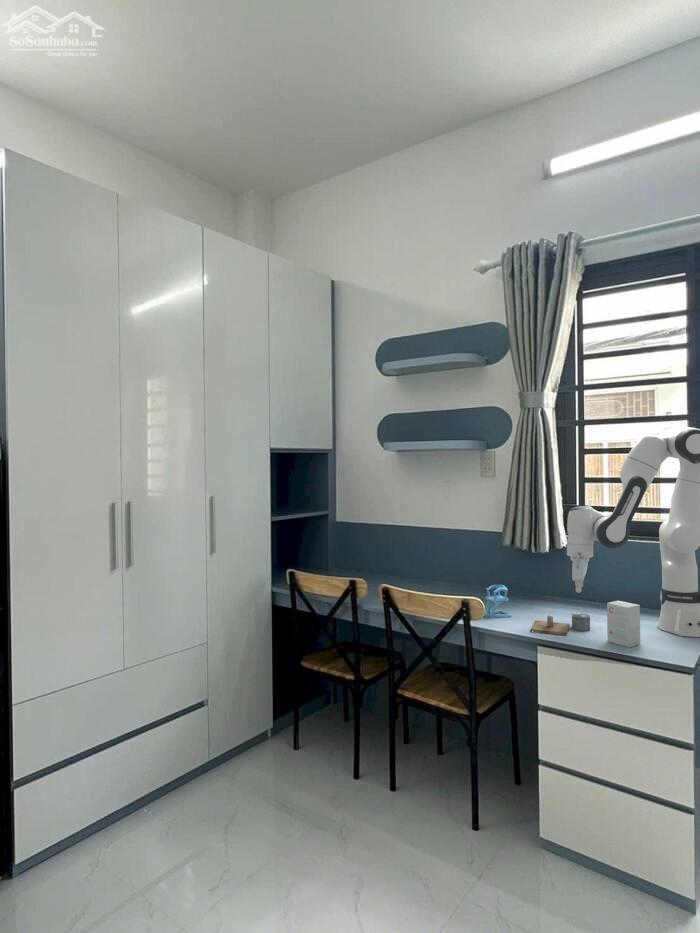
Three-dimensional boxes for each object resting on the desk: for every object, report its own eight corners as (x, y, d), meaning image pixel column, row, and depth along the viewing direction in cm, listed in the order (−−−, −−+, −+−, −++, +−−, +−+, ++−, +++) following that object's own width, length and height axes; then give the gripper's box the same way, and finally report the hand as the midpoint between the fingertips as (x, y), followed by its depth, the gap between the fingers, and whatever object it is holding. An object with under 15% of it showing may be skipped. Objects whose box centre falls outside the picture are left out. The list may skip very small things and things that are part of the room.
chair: (482, 614, 233) (482, 584, 233) (501, 612, 235) (500, 582, 235) (493, 619, 225) (492, 588, 225) (512, 617, 228) (511, 586, 228)
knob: (590, 627, 213) (590, 612, 213) (589, 631, 208) (589, 616, 208) (572, 625, 216) (572, 610, 216) (571, 629, 210) (571, 614, 210)
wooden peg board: (569, 626, 214) (569, 614, 214) (566, 635, 203) (566, 622, 203) (535, 622, 219) (535, 610, 219) (530, 631, 209) (530, 619, 209)
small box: (640, 644, 193) (640, 604, 193) (629, 647, 190) (629, 607, 190) (618, 638, 200) (618, 599, 200) (606, 641, 197) (606, 602, 196)
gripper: (587, 556, 200) (587, 596, 201) (590, 547, 219) (590, 584, 219) (568, 554, 203) (567, 594, 203) (572, 546, 222) (572, 583, 222)
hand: (579, 589), depth 212 cm, fingers open, 8 cm apart
